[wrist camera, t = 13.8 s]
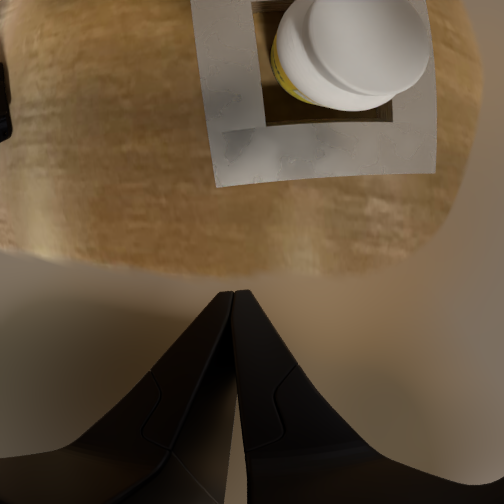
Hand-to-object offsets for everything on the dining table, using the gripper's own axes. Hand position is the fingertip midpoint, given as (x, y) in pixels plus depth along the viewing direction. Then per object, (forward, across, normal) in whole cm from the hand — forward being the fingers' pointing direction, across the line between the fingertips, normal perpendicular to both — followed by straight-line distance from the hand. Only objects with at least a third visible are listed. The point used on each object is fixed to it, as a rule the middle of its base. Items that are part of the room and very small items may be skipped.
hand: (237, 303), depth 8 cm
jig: (+12, -5, -7) cm, 15 cm away
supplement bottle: (+12, -5, -7) cm, 15 cm away
